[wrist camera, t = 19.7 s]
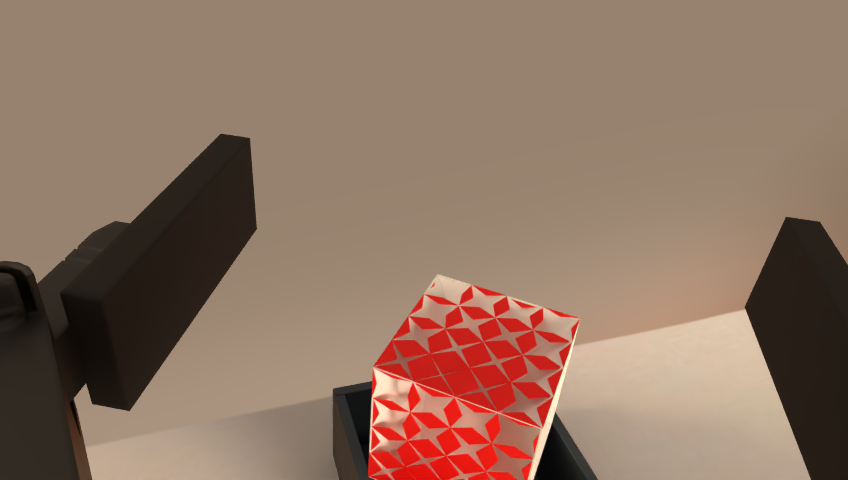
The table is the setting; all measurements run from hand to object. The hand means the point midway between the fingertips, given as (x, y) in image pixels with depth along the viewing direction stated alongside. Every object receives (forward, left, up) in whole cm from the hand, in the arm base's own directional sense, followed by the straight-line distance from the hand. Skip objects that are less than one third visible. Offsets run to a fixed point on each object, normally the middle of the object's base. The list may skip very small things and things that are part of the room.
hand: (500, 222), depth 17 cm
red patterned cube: (-10, 0, -21) cm, 23 cm away
